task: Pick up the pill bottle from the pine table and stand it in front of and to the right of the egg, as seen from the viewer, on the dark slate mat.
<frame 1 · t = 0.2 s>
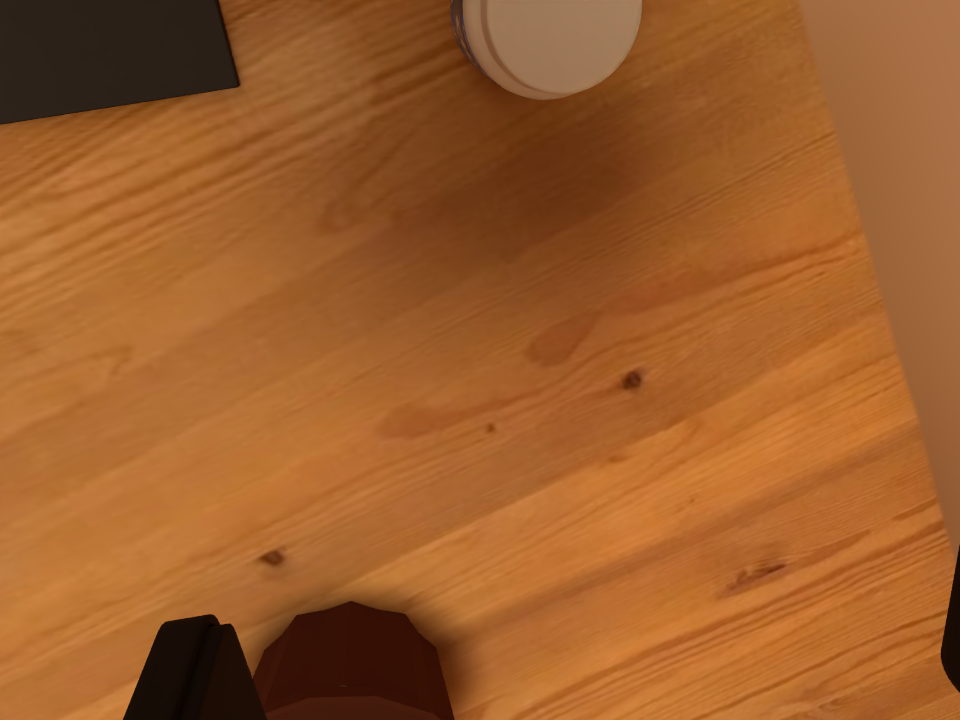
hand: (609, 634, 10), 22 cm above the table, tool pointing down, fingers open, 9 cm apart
muffin: (352, 666, 38), on the table
pill bottle: (516, 11, 26), on the table
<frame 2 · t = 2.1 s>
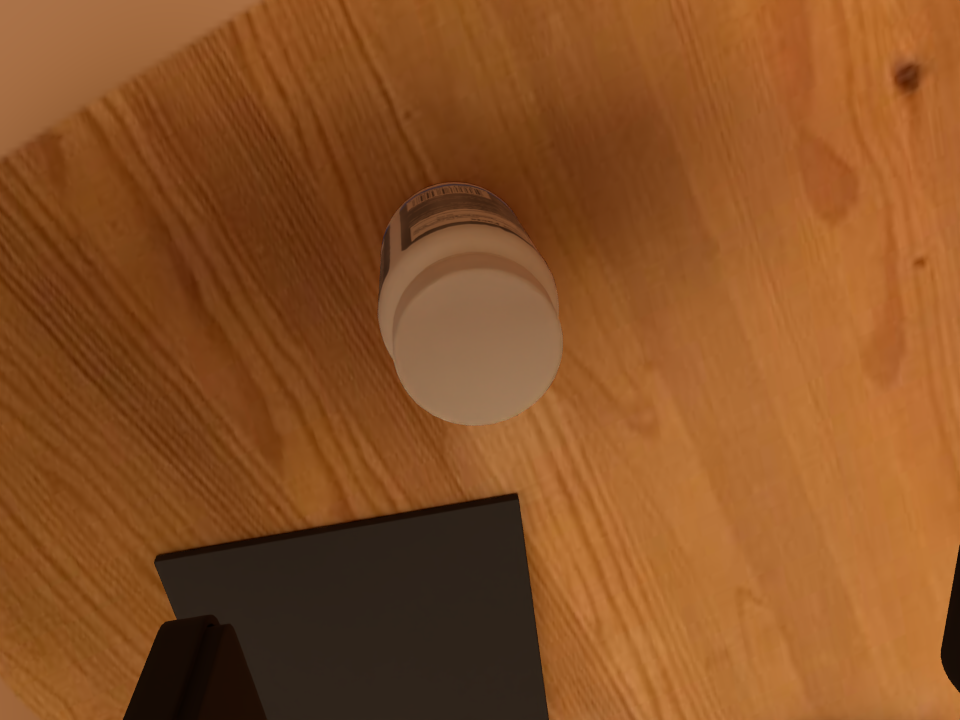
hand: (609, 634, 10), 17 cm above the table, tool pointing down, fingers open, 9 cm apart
slate mat: (373, 656, 32), on the table
pill bottle: (453, 249, 25), on the table
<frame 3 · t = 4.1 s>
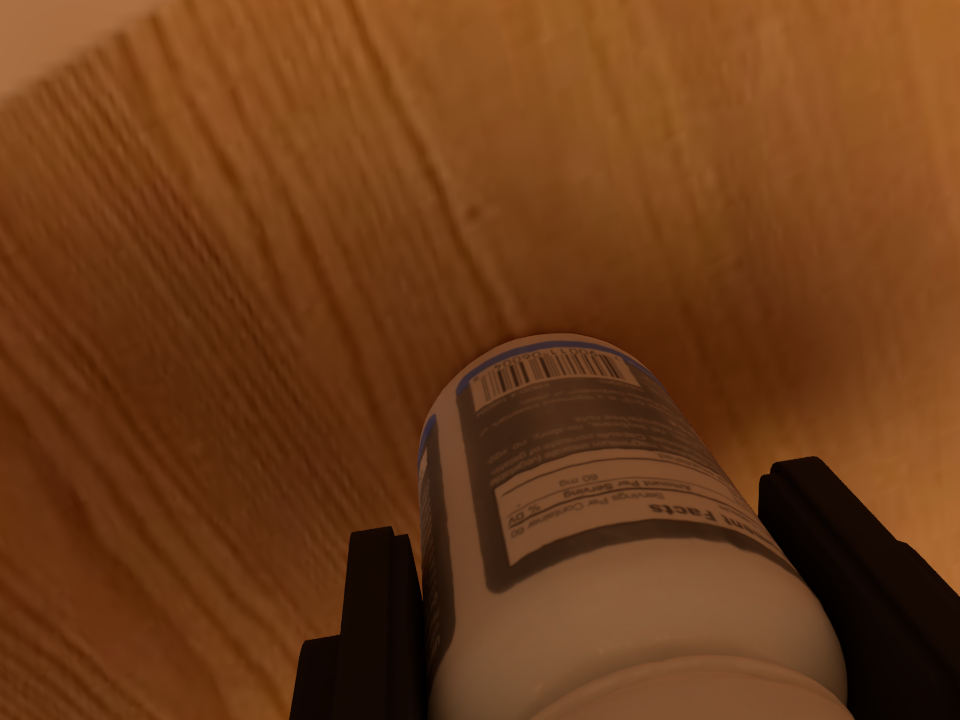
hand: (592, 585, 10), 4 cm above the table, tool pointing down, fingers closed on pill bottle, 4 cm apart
pill bottle: (544, 438, 14), on the table, touching gripper
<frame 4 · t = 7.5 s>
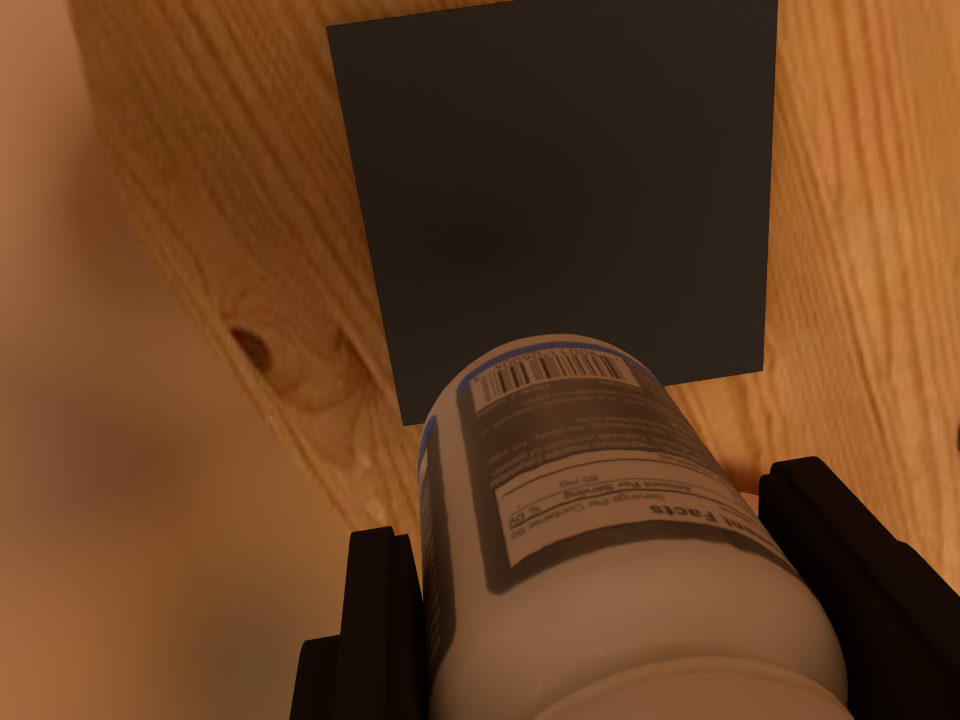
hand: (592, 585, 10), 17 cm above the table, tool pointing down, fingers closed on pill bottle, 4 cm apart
slate mat: (569, 217, 26), on the table
pill bottle: (545, 439, 14), point 13 cm above the table, touching gripper
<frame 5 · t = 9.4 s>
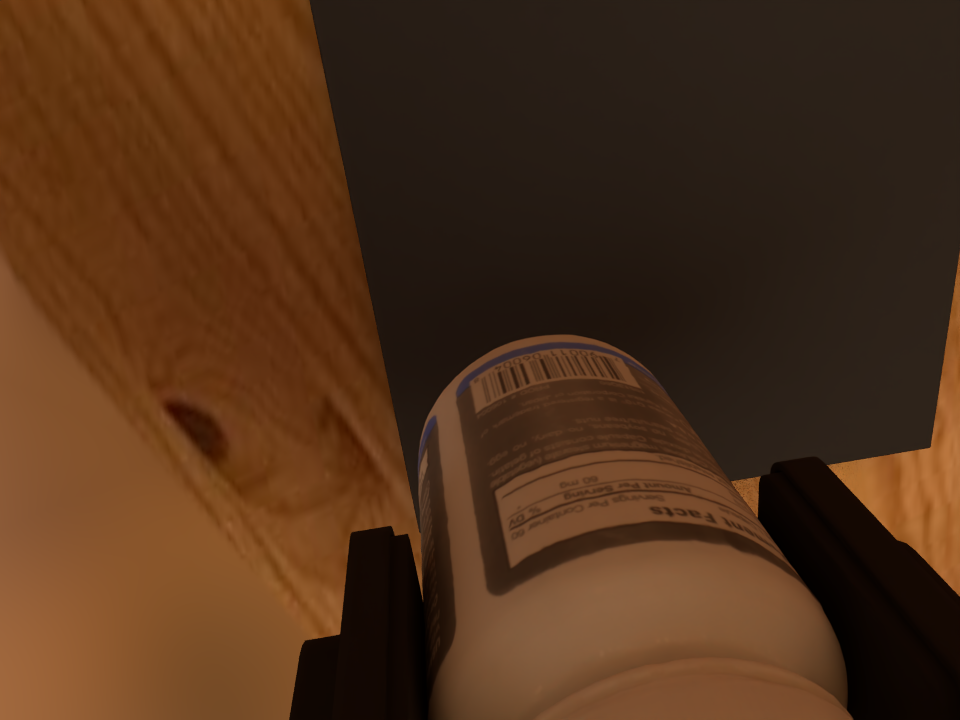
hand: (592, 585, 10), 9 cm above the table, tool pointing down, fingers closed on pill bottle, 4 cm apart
slate mat: (667, 234, 17), on the table
pill bottle: (544, 440, 14), point 5 cm above the table, touching gripper
when the fingers open (4 cm above the table, at t = 10.8 s): pill bottle stays where it is, resting on slate mat.
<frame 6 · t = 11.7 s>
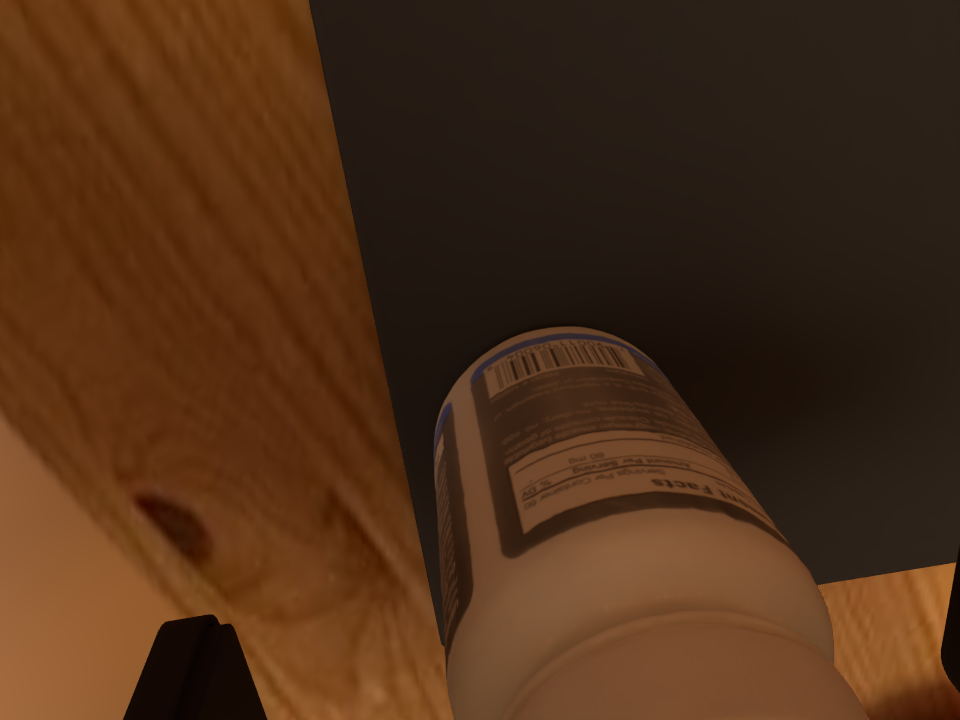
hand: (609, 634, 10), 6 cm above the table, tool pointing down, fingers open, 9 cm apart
slate mat: (751, 297, 14), on the table
pill bottle: (553, 427, 15), resting on slate mat
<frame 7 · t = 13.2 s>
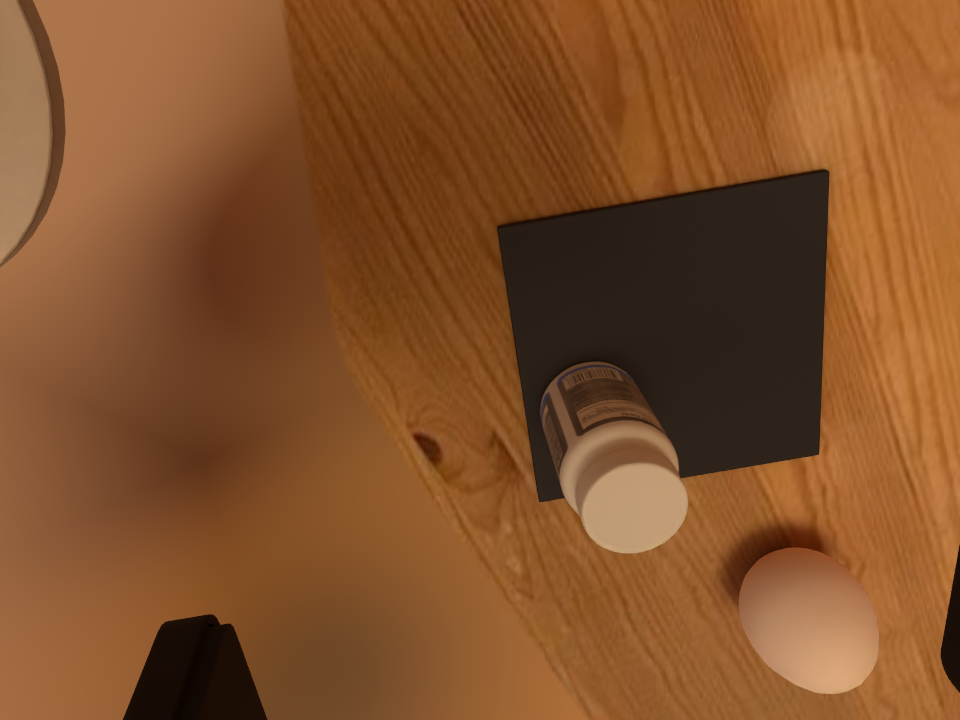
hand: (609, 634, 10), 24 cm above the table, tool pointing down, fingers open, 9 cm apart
egg: (773, 564, 40), on the table
slate mat: (669, 347, 35), on the table
pill bottle: (588, 402, 35), resting on slate mat
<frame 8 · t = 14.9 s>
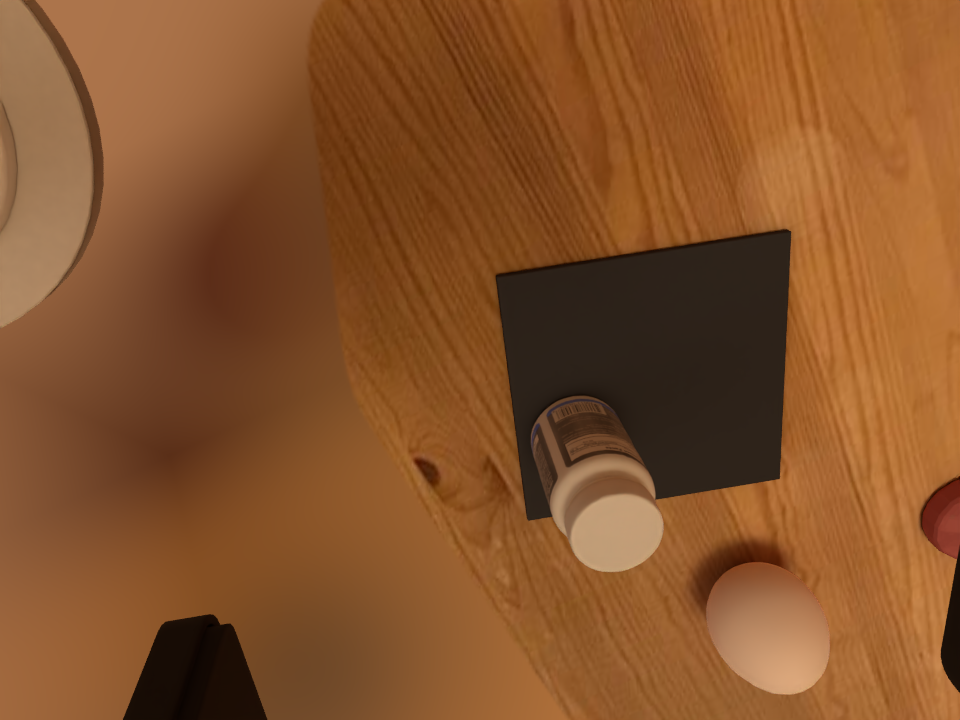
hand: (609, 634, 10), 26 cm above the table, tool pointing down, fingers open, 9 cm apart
egg: (737, 576, 45), on the table
slate mat: (647, 383, 38), on the table
pill bottle: (574, 431, 39), resting on slate mat
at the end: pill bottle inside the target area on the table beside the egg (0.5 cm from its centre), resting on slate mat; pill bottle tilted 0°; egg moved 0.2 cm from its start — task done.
